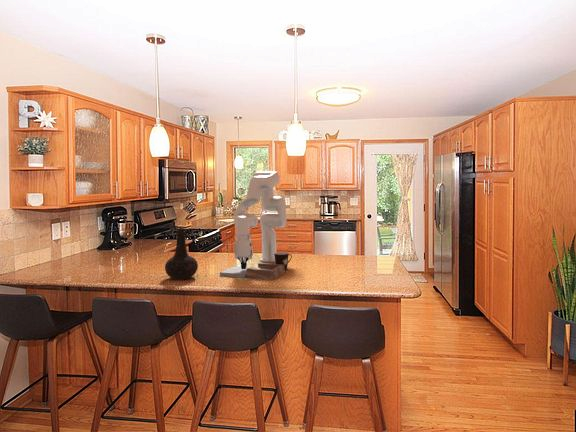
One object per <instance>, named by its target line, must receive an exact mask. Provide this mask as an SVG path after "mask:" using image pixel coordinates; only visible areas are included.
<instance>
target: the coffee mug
mask: <svg viewBox="0 0 576 432" xmlns="http://www.w3.org/2000/svg"><path fill="white" fill-rule="evenodd" d="M276 252H277V251H276ZM274 255H275V262H274V264H283V265H284V272H286V271H287V270H288V264H289V263H290V262H291V260H292V257H293V256H292V254H290V253H289V252H288V251H280V252H279V251H278V252H277V253H274ZM289 256H290V259H289Z"/></svg>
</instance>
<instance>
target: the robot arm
mask: <svg viewBox="0 0 576 432" xmlns="http://www.w3.org/2000/svg"><path fill="white" fill-rule="evenodd" d="M280 179H281V176H280V174H279V172H278V171H275V170H274V171H272V170H270V171H269V170H268V171H266V170H265V171H264V170H263V171H255V172H254V173H253V174H252V177H251V178H250V180H249V184H248V187H247V192H246V197H245V198H244V199H243V200H242V201H241V202H240V203H239V204H238V205H237V207H236V209H235V211H234V217H233V224H234V225H235V227H236V232H235V233H236V234H235V236H236V239H235V243H234V259H236V260H238V261H239V263H240V267H241V269H246V267H248V265H247V264H248V263H247V262H248V261H249V260H252V259H253V255H254V249H253V247H254V246H253V243H252V235H251V234H250V228H255V227H257V226H258V224H259V223H260V227H261V256H262V257H260V258H259V261H260V262H262V263H273V262H274V263H275V255H274V253H277V233H276V231H275V229H276V228H277V229H278V228H280V229H281V228H285V227H286V226H287V205H286V200H285V198H284V197H282V196H275V191H274V188H275V187H276V186H277V185H278V184H279V183H280ZM258 203H260V206H261V209H262V210H263V211H265V212H264V213H262V214H261V215H260V216H259V218H258V216H257V215H256V214H243V213H244V212H245V210H247V209H248V208H250V207H252V206H255V205H257V204H258ZM274 228H275V229H274Z"/></svg>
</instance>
